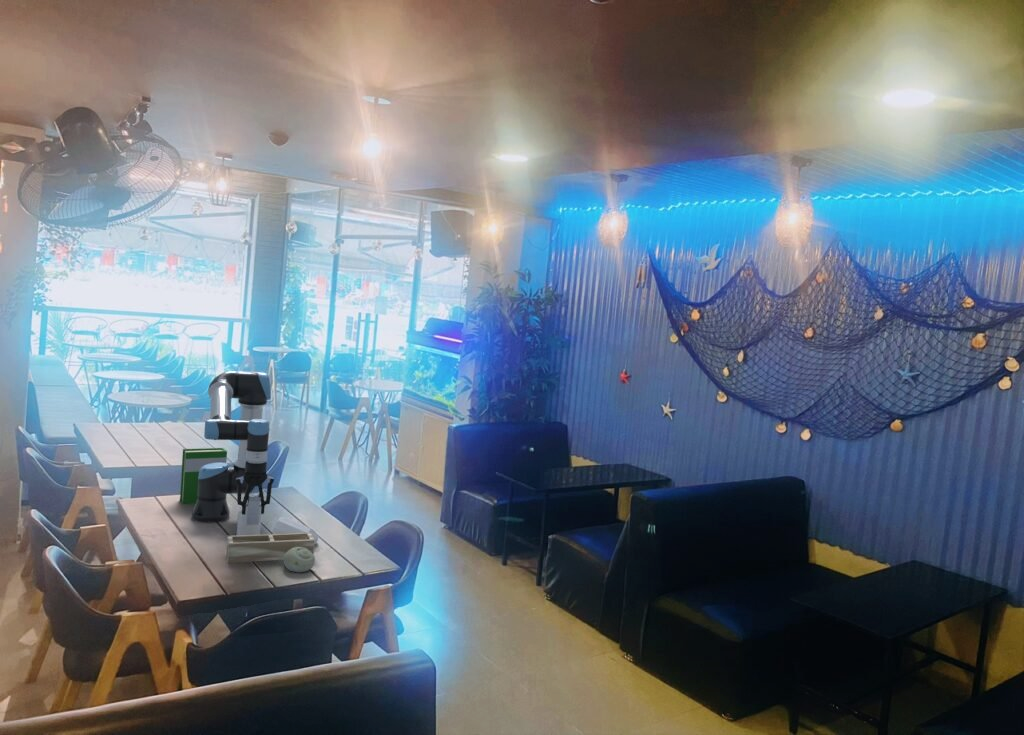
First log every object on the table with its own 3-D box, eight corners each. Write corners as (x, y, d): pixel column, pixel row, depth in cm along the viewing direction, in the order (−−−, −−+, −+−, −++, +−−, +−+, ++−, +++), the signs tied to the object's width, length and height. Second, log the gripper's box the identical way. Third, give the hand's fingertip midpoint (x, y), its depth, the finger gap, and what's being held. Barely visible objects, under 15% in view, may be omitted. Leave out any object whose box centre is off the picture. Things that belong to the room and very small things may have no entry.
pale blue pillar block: (246, 521, 273) (248, 493, 272) (257, 521, 274) (259, 492, 273) (247, 526, 267) (249, 497, 266) (258, 526, 269) (260, 497, 268)
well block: (226, 553, 274) (227, 535, 273) (309, 549, 286) (310, 532, 286) (227, 562, 265) (229, 544, 264) (313, 558, 278) (314, 540, 277)
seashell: (320, 551, 265) (295, 552, 258) (317, 573, 265) (292, 574, 258) (302, 544, 274) (278, 545, 267) (299, 565, 274) (275, 567, 267)
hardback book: (182, 504, 328) (186, 452, 326) (179, 500, 334) (182, 448, 332) (223, 501, 338) (227, 451, 336) (220, 497, 344) (223, 447, 342)
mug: (260, 542, 289) (262, 515, 289) (237, 543, 286) (239, 515, 285) (257, 532, 300) (259, 506, 299) (234, 533, 296) (236, 507, 295)
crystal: (266, 524, 300) (302, 540, 285) (279, 513, 304) (315, 528, 290) (272, 538, 303) (308, 554, 289) (286, 527, 308) (322, 542, 294)
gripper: (232, 463, 263) (228, 526, 265) (281, 463, 270) (277, 524, 272) (231, 458, 270) (227, 520, 271) (279, 458, 277) (275, 518, 278)
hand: (252, 522), depth 271 cm, fingers closed on pale blue pillar block, 4 cm apart
